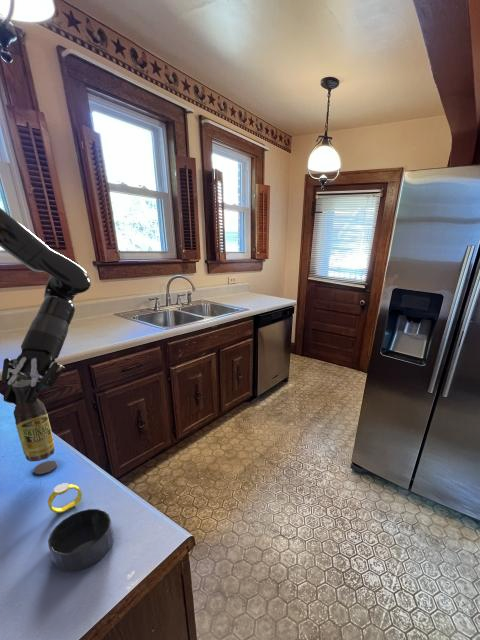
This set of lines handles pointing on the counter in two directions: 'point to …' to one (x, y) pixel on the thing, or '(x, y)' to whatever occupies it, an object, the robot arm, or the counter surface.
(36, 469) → the brown flat disc
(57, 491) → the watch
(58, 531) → the pan
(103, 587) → the counter surface
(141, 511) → the counter surface
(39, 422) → the sauce bottle
